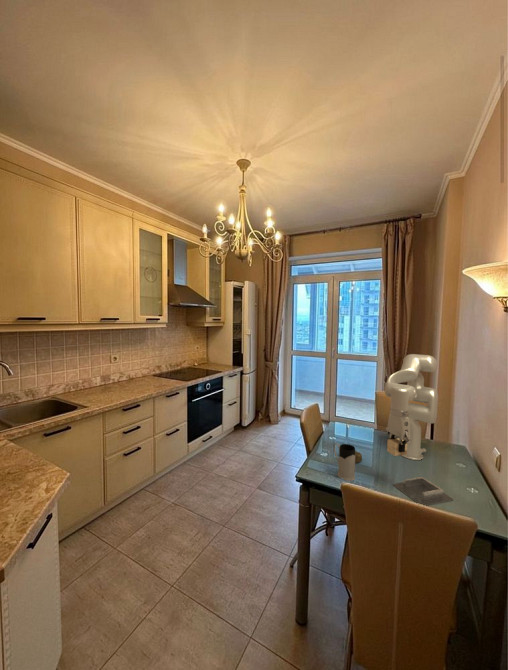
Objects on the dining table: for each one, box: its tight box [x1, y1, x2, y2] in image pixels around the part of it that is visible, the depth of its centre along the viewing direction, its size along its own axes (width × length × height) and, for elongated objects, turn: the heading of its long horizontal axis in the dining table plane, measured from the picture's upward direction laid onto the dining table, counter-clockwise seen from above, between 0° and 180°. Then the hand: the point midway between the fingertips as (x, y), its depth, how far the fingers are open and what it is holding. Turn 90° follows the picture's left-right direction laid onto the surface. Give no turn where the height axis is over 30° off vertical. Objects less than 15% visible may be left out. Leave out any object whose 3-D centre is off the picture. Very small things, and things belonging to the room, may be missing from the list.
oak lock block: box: [386, 437, 407, 457], centre depth 131 cm, size 7×5×6 cm
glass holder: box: [333, 442, 356, 482], centre depth 139 cm, size 9×14×15 cm, turn 24°
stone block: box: [355, 450, 363, 464], centre depth 155 cm, size 6×12×5 cm, turn 40°
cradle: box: [392, 476, 454, 507], centre depth 125 cm, size 18×16×4 cm
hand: (397, 448), depth 131 cm, fingers closed on oak lock block, 5 cm apart
